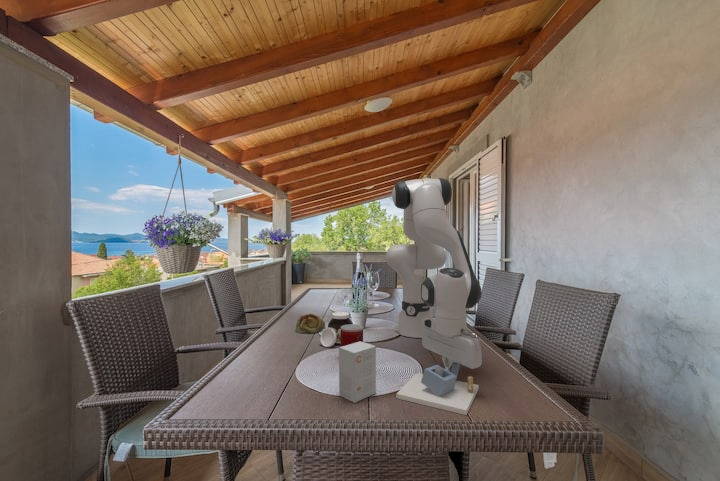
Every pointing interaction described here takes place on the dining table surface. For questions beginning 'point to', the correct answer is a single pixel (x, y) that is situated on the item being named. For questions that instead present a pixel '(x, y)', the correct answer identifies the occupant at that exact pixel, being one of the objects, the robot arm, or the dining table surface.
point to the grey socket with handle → (440, 379)
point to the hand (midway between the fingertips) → (449, 372)
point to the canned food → (350, 334)
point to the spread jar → (334, 329)
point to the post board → (438, 395)
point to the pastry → (310, 324)
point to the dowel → (470, 384)
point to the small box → (357, 371)
